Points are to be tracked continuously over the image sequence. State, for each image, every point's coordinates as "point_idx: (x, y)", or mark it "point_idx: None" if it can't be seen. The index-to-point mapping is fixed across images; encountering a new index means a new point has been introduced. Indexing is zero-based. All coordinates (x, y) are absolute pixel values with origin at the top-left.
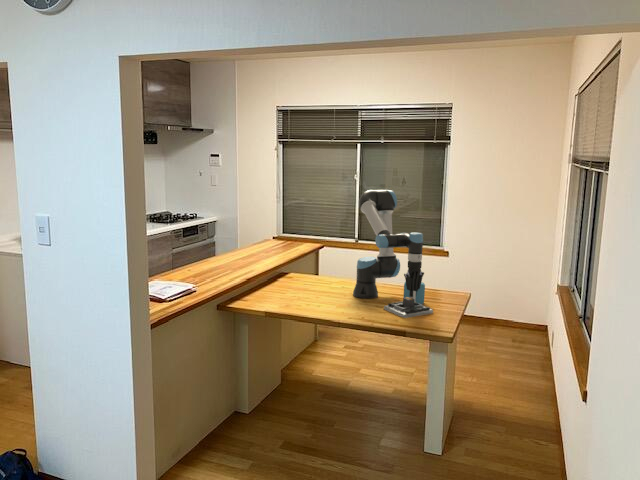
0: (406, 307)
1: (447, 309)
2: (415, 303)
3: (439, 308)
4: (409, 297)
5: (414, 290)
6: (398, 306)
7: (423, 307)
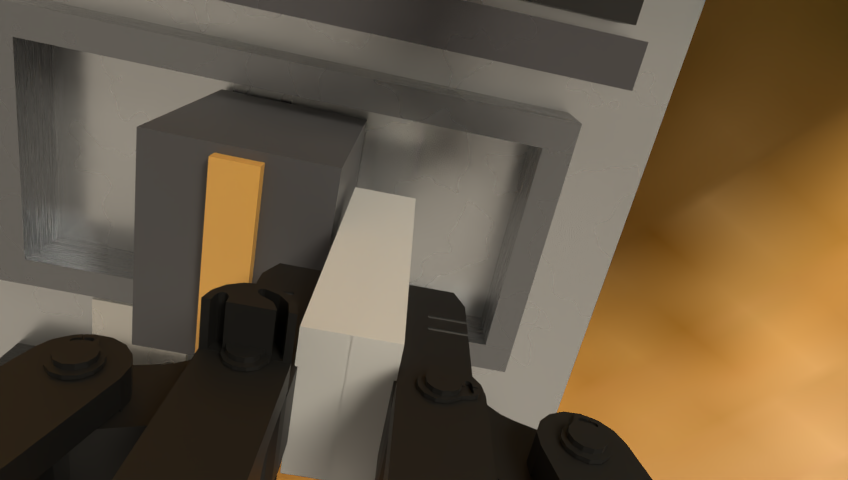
0: (117, 283)
1: (838, 459)
2: (526, 185)
3: (812, 374)
4: (332, 203)
5: (383, 438)
6: (7, 147)
7: (519, 337)
